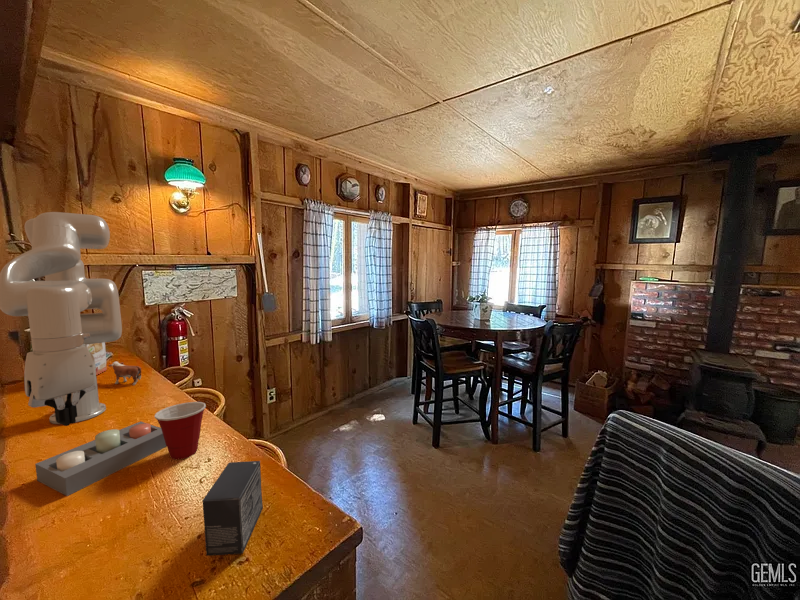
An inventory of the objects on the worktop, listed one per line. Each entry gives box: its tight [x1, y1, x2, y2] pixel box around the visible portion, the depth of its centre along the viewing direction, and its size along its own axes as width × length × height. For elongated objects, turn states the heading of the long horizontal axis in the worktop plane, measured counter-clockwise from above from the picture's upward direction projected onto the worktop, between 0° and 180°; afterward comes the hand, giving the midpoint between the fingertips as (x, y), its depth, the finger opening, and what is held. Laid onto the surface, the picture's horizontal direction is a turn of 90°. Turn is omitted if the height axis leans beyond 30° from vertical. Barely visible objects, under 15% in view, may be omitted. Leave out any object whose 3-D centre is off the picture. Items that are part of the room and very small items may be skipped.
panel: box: [35, 421, 167, 497], centre depth 80 cm, size 12×21×4 cm, turn 158°
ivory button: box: [56, 451, 85, 472], centre depth 73 cm, size 4×4×5 cm
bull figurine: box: [108, 361, 142, 386], centre depth 129 cm, size 4×13×8 cm, turn 79°
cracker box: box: [87, 342, 108, 376], centre depth 134 cm, size 14×6×21 cm, turn 12°
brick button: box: [129, 422, 152, 439], centre depth 86 cm, size 4×4×5 cm
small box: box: [202, 460, 264, 557], centre depth 60 cm, size 11×6×10 cm, turn 5°
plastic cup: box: [154, 401, 207, 461], centre depth 83 cm, size 11×11×12 cm
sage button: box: [94, 428, 121, 454], centre depth 80 cm, size 4×4×5 cm
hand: (67, 422), depth 73 cm, fingers closed
